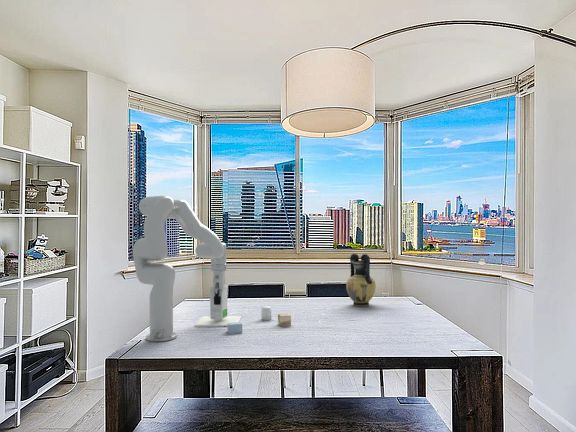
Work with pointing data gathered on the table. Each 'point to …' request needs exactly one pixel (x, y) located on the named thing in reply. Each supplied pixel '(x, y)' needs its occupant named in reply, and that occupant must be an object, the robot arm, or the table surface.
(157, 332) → the robot arm
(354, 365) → the table surface
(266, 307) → the white rounded piece
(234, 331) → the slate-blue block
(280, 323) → the birch block
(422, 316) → the table surface
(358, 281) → the amphora
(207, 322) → the cream mat
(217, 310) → the skincare box
